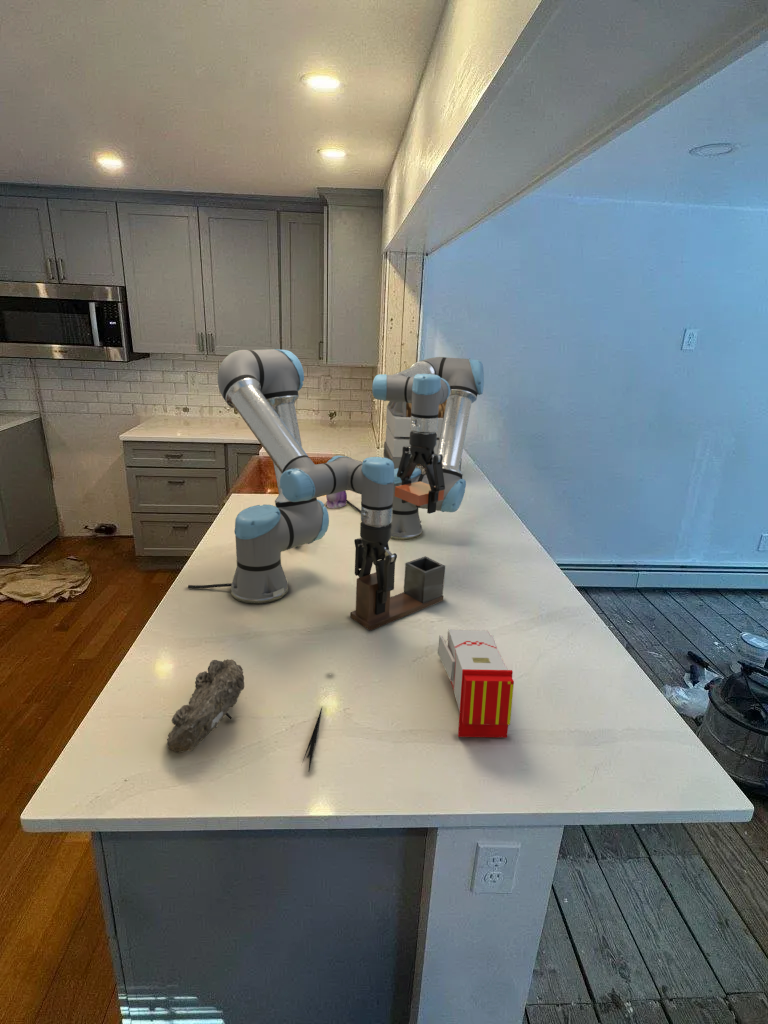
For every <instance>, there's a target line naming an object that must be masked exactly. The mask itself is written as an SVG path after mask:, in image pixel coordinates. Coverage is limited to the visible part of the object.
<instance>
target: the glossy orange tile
mask: <svg viewBox="0 0 768 1024" xmlns="http://www.w3.org/2000/svg"><path fill="white" fill-rule="evenodd" d="M434 487H435V486H434ZM430 490H431V488H430V485H429V484H426V483H423V482H421V481H419V482H415V483H410V484H405V485H401V486H396V487H395V497H398V498H400V499H403V500H405V501H407V502H409V503H412V504H414V505H417V506H421V505H425V504H428V495H429V491H430ZM443 498H444V490H442V491H439V496H438V501H440V500H443Z"/></svg>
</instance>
